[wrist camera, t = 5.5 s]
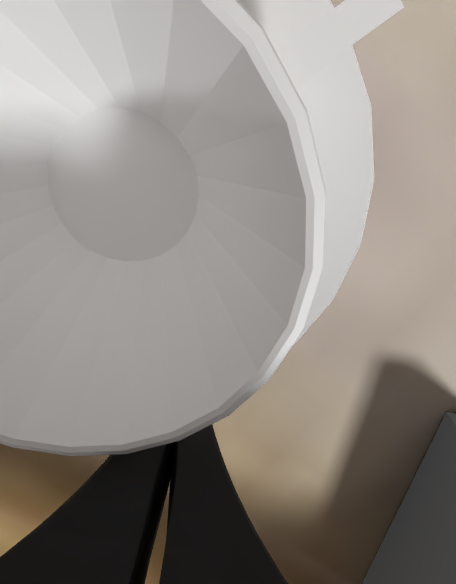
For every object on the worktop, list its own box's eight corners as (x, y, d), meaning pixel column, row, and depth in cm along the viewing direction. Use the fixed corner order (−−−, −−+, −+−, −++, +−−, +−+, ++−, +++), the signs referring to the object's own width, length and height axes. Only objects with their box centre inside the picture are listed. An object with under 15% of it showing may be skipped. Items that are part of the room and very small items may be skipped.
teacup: (449, 186, 10) (640, 252, 6) (154, 429, 14) (114, 597, 9) (76, -309, 7) (-298, -1319, 2) (-188, 187, 10) (-547, 251, 6)
